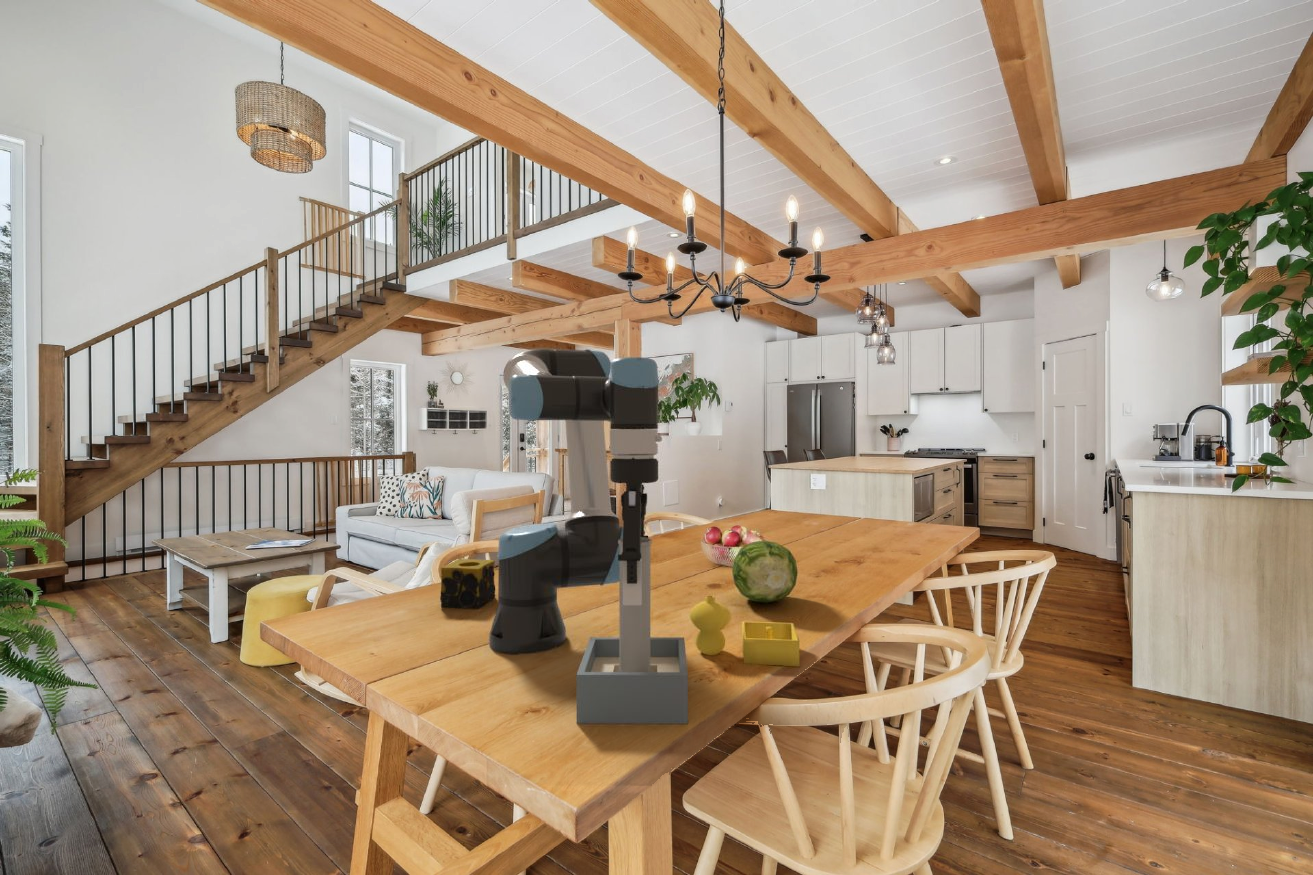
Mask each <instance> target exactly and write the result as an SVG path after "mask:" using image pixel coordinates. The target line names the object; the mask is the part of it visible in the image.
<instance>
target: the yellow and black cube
mask: <svg viewBox="0 0 1313 875" xmlns="http://www.w3.org/2000/svg"><path fill="white" fill-rule="evenodd" d="M495 562H496V561H495V560H493V559H471V558H458V559H456V560H454V561H451V562H450V563H448V564H446V565H443V566H442V567H440V572H441V574H440V576H441V582H440V584H441V585H440V596H439V598H440V599H439V600H440V607H441V608H445V609H464V610H465V609H467V610H469V609H470V610H479V609H481V608H482V607H484V606H486V605H487V604H488V603H490V602H491V601H492V600H494V599H496V585H495Z"/></svg>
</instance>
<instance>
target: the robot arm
mask: <svg viewBox="0 0 1313 875" xmlns="http://www.w3.org/2000/svg"><path fill="white" fill-rule="evenodd" d="M658 372H659V370H658V364H657V362H656V360H655V359H652V358H650V357H641V356H627V357H618V358H614V359H613V360H610V357H609V356H608V354H606V353H605V352H603V351H598V350H591V349H584V350H583V349H581V350H580V349H565V348H564V349H563V348H559V349H558V348H533V349H527V350H525V351H523V352H519V353H518V354H516V355H514V356H513V357H512V358H510V359H509V360H508V361H507V363H506V365H505V367H504V370H503V381H504V384H505V387H506V388H507V390H508V410H509V411H508V412H509V416H510V417H511V418H512V419H513V420H516V421H517V420H518V421H528V422H534V421H565V434H566V436H565V437H566V451H567V466H568V467H567V468H568V480H569V482H568V483H569V497H570V511H571V514H570V516H569V517H568V518H567V519H566V520H565V522H564V530H559V527H558V526H557V524H555V523H552V522H548V523H533V524H528V525H522V526H517V527H514V528H511V529H509V530H506V531H504V532H503V533H502V534H501V535H500V537H499V539H498V550H497V551H498V552H497V555H496V558H497V560H498V580H497V582H498V591H497V593H498V594H497V595H498V596H497V599H498V600H497V601H498V603H497V608H496V611H495V614H494V615H495V616H494V619H493V621H492V625H491V627H490V631H489V633H488V637H489V638H488V640H489V648H490V649H491V650H493V651H494V652H498V653H502V654H508V655H527V654H529V655H530V654H536V653H537V654H538V653H542V652H547V651H550V650H553V649H556V648H559V647H561V646H562V645H563V644H564V643H565V642H566V640H567V639H566V638H567V637H566V636H567V635H566V633H567V630H566V625H565V622H564V620H563V617H562V614H561V610H560V607H559V604H558V589H562V588H575V587H585V586H587V587H588V586H589V587H590V586H598V585H600V586H605V585H610V584H617V583H620V561H623V605H642V559H641V537H646V538H649V535H645V534H646V531H645V519H646V515H647V505H648V493H646V492H644V490H645V486H644V484H651V483H656V482H657V481H658V480H659V460H658V458H655V455H656V456H657V454H659V444H658V443H659V442H660V443H661V441H663V437H662V435H657V434H658V430H659V429H658V428H659V383H660V380H659V373H658ZM604 422H610V426H609V428H610V429H609V454H610V455H611V456H613V458H611V460H610V464H609V466H610V467H609V469H610V470H609V471H610V472H609V471H608V458H607V448H606V446H607V445H606V436H605V425H604V424H605V423H604ZM609 474H610V475H609ZM609 476H610V478H609ZM609 479H610V481H609ZM610 482H612V483H615V484H625V491H623V493H621V495H620V504H621V518H622V521H623V524H622V526H620V524H621V523H620V517H619V516H618V515H617V514H615V513H614V512H613V511H612V505H611V503H612V502H611V494H610V493H611V492H610ZM621 538H623V552H622V554H620V546H619V544H618V540H620V539H621Z"/></svg>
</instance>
